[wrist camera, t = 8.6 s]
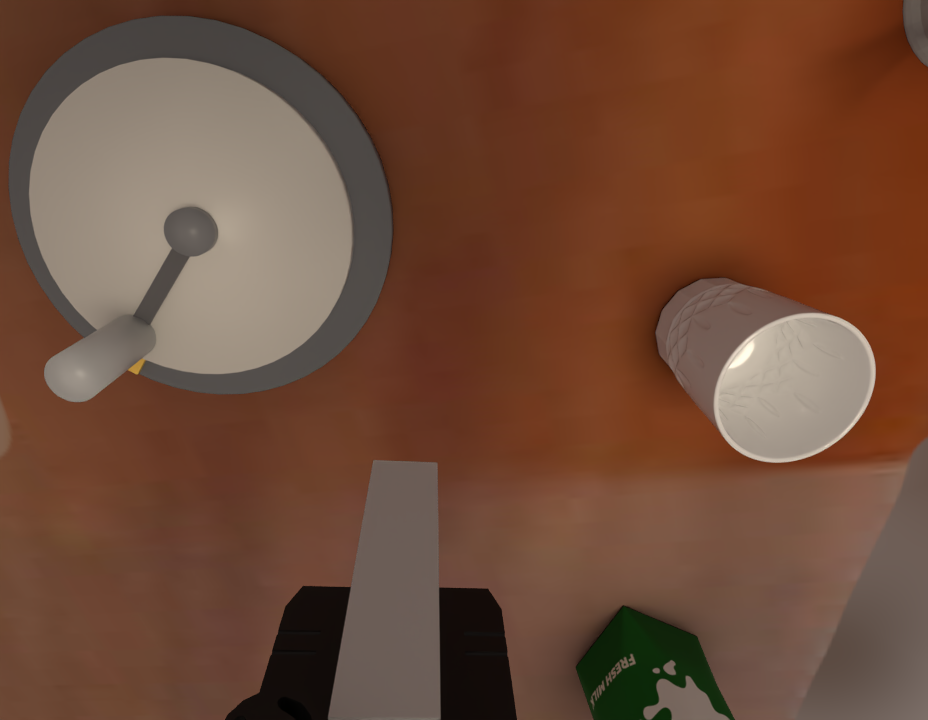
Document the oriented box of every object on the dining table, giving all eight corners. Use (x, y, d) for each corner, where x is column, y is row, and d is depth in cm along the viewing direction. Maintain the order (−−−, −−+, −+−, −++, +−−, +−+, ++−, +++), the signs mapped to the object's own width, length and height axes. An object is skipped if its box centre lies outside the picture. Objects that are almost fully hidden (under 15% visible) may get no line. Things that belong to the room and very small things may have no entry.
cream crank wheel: (130, -15, 28) (32, -62, 21) (411, 191, 32) (406, 208, 25) (-4, 263, 33) (-122, 299, 26) (260, 415, 37) (219, 482, 30)
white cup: (642, 389, 40) (707, 468, 30) (649, 271, 37) (722, 318, 28) (760, 380, 40) (860, 457, 31) (775, 263, 37) (891, 307, 28)
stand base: (-2, 6, 30) (-35, -4, 28) (398, 38, 32) (395, 32, 30) (64, 374, 37) (42, 389, 35) (389, 387, 39) (387, 402, 37)
